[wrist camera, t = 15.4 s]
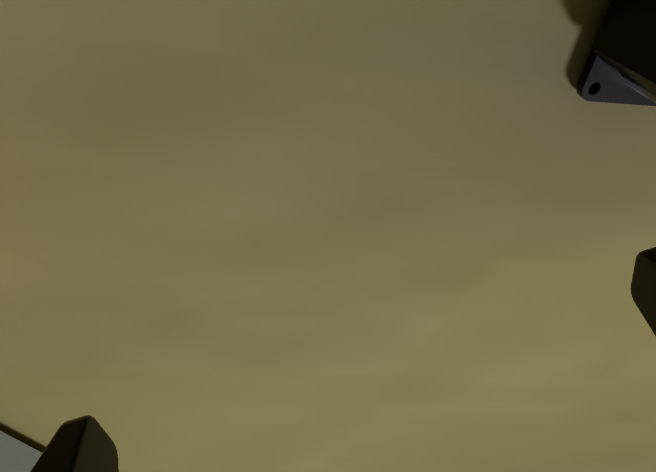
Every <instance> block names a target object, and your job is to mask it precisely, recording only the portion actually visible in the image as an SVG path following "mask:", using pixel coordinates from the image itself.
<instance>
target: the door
mask: <svg viewBox="0 0 656 472" xmlns="http://www.w3.org/2000/svg"><path fill="white" fill-rule="evenodd" d="M41 455H42V452H40V451H38V450H36V449H34V448H32V447H30V446H28V445H26V444H24V443H23V442H21V441H19V440H17V439H15V438H13V437H11V436H9V435H7V434H5V433H3V432H2V431H0V472H30V471H31V470H32V468H33V467H34V465H35V464H36V462H37V461H38V459H39V458H40V456H41Z"/></svg>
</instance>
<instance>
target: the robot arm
mask: <svg viewBox="0 0 656 472" xmlns="http://www.w3.org/2000/svg"><path fill="white" fill-rule="evenodd" d="M593 83H595V85H594V87H593V88H592V89H591V90H589V91H588V89H589V87H590V86H591V85H592V84H593ZM577 93H578V95H579V96H581V97H582V98H583V99H585V100H587V101H594V102H608V103H622V104H635V105H649V106H656V0H612V1H611V3H610V6H609V8H608V11H607V13H606V16H605V18H604V21H603V23H602V25H601V28H600V30H599V33H598V35H597V38H596V40H595V42H594V45H593V47H592V50H591V52H590V55H589V57H588V60H587V62H586V65H585V67H584V69H583V72H582V74H581V77H580V79H579V82H578V84H577ZM631 294H632V297H633V300H634V302H635V304H636V305H637V307H638V309H639V310H640V312H641V313H642V315H643V317H644V318H645V320H646V321H647V323H648V325H649V326H650V328H651V329H652V331H653V333H654V334H655V336H656V247H654V248H651V249H647V250H644V251H642V252H640V253H639V254H638V255H637V257H636V261H635V266H634V272H633V277H632V282H631ZM30 472H119V469H118V455H117V450H116V447H115V445H114V443H113V441H112V440H111V438H110V437H109V436H108V435H107V433H106V432H105V431H104V430H103V428H102V427H101V426H100V424H99V423H98V422H97V421H96V419H95V418H94V417H92V416H89V415H88V416H83V417H79V418H76V419H73V420H69V421H67V422H65V423H63V424H62V425H61V426H60V428H59V429H58V430H57V432H56V433H55V435H54V436H53V438H52V439H51V441H50V442H49V444H48V445H47V447H46V449H45V450H44V452H43V453H42V455H41V456H40V458H39V459H38V461H37V462H36V464H35V465H34V467H33V468H32V470H31V471H30Z"/></svg>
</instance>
